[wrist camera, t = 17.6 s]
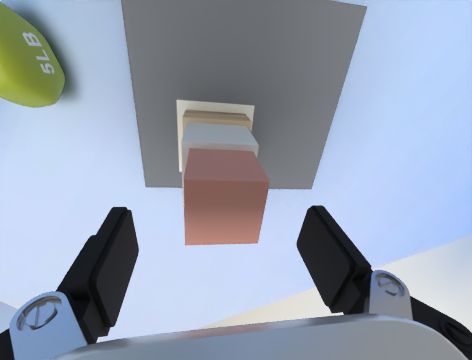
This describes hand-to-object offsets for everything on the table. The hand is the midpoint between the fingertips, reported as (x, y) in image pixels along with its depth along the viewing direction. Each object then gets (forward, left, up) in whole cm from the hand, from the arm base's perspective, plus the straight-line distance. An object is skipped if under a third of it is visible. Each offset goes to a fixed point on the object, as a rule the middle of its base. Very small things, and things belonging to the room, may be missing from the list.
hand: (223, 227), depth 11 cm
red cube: (+1, 0, -7) cm, 7 cm away
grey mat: (-3, +3, -17) cm, 18 cm away
